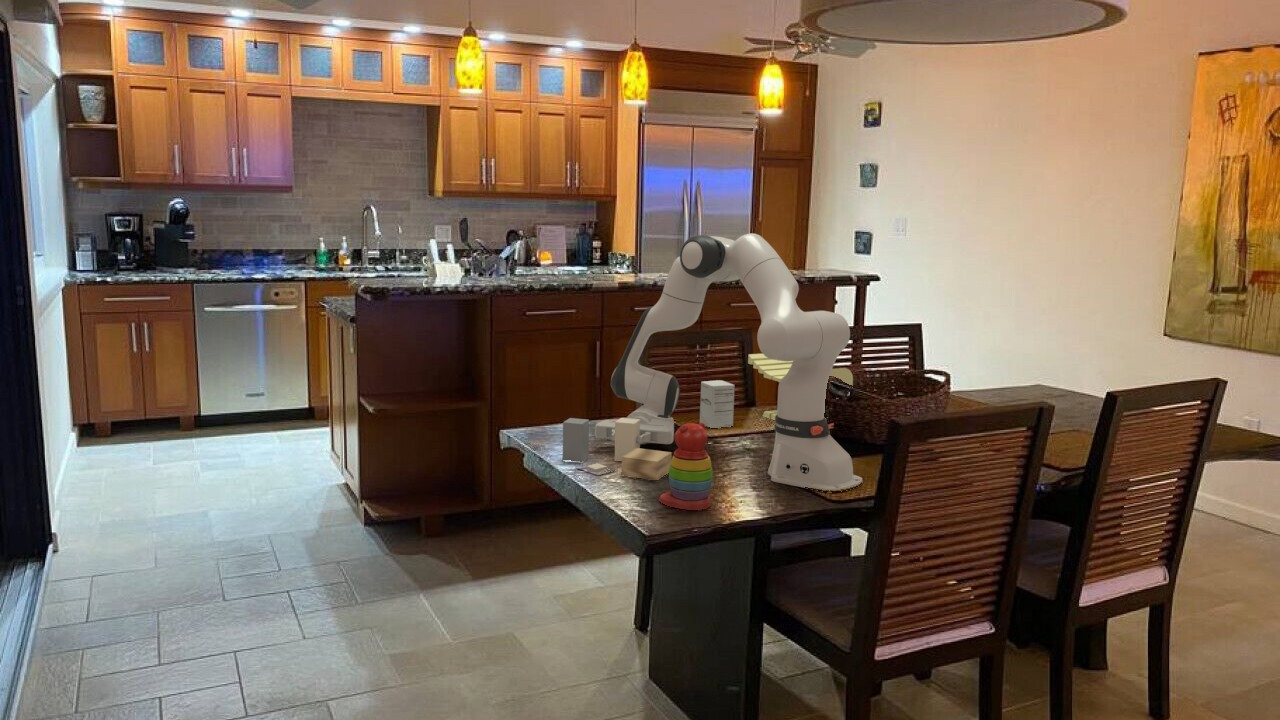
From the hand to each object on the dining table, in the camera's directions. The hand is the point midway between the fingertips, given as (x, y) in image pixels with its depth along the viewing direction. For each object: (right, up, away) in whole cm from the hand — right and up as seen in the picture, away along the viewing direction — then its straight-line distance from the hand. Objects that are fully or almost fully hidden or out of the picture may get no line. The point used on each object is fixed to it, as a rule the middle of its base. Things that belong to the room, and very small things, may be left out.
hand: (626, 439), depth 237 cm
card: (-7, -7, -8) cm, 13 cm away
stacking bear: (+14, -11, -32) cm, 36 cm away
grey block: (-13, -5, 0) cm, 14 cm away
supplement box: (+25, 0, +40) cm, 47 cm away
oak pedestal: (+5, -8, -10) cm, 14 cm away
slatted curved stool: (+50, +2, +50) cm, 71 cm away
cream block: (0, -5, +2) cm, 6 cm away
